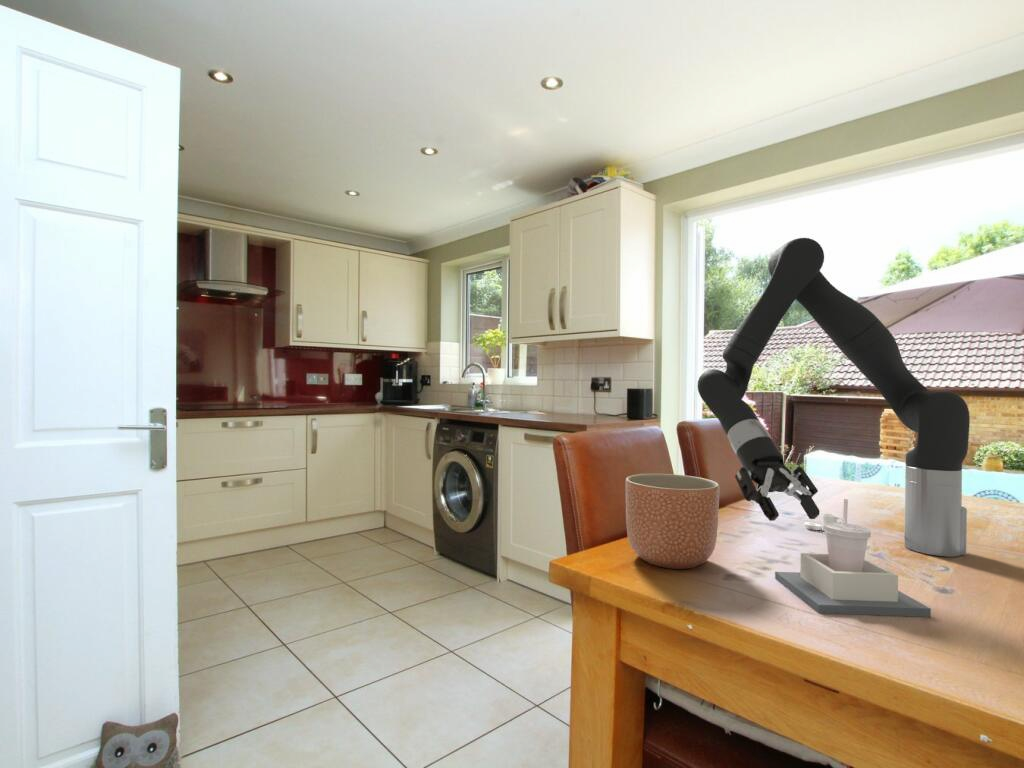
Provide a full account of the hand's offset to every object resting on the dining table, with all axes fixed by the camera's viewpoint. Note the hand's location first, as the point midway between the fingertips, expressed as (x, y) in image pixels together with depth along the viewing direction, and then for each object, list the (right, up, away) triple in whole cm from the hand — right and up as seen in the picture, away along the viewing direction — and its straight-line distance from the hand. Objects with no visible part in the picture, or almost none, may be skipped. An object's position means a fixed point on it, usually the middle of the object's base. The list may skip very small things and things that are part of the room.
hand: (795, 517), depth 95 cm
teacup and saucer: (+23, -11, +32) cm, 41 cm away
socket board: (+2, -10, -11) cm, 15 cm away
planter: (-21, -10, +5) cm, 24 cm away
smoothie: (+2, -9, -11) cm, 14 cm away
